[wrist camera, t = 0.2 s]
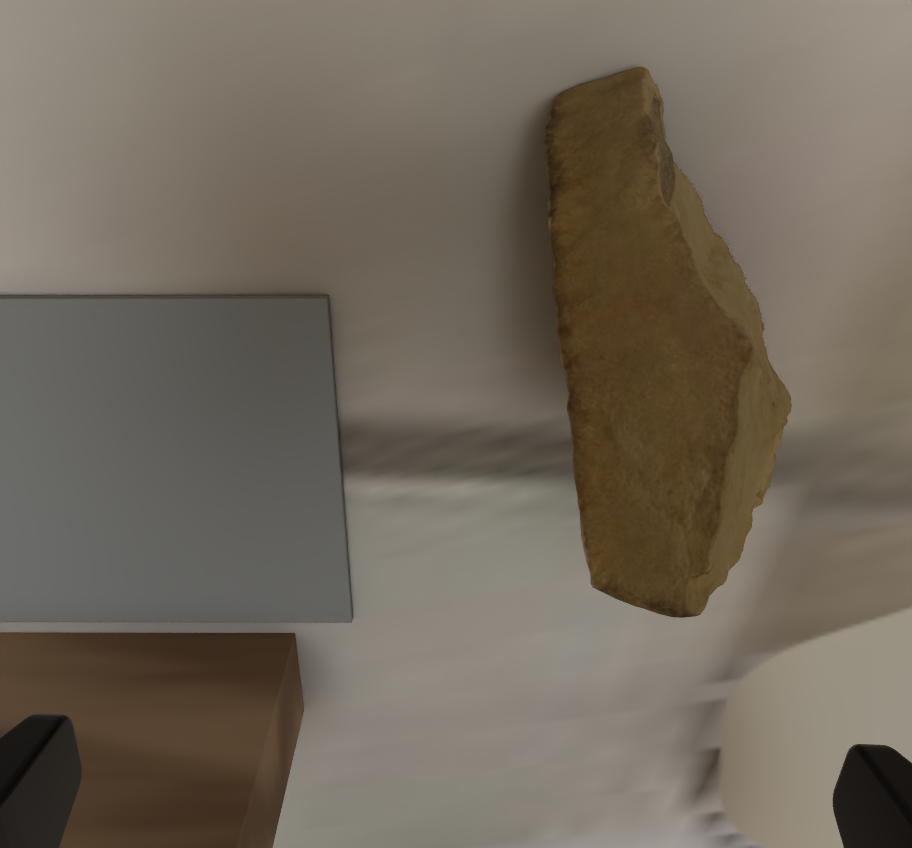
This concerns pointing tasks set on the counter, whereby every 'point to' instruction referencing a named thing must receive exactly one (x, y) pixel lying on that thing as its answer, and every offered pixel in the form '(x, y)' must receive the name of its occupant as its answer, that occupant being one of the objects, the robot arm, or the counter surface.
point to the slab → (165, 731)
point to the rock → (653, 355)
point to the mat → (170, 460)
